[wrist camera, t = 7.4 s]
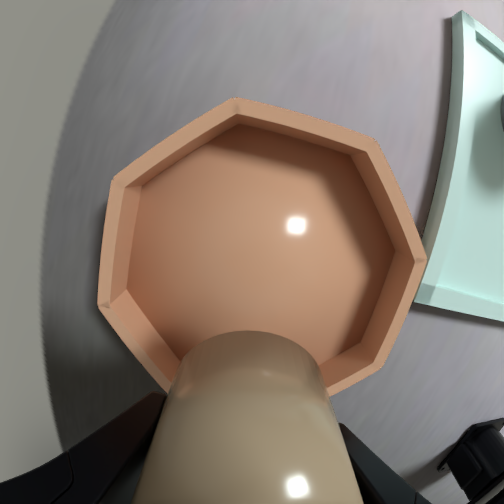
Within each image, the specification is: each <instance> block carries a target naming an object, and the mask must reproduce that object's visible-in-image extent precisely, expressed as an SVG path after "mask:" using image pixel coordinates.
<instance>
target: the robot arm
mask: <svg viewBox="0 0 504 504" xmlns="http://www.w3.org/2000/svg"><path fill="white" fill-rule="evenodd" d="M166 398H167V396H166V395H165V394H162V393H159V392H155V391H152V392H150V393H149V394H148V395H146V396H145V397H144V398H142V399H141V400H139V401H138V402H137V403H135V404H134V405H133V406H131V407H130V408H128V409H127V410H126V411H124V412H123V413H121V414H120V415H118V416H117V417H116V418H114V419H113V420H111V421H110V422H108V423H107V424H106V425H104V426H103V427H101V428H100V429H98V430H97V431H95V432H94V433H92V434H91V435H89V436H88V437H86V438H85V439H83V440H82V441H80V442H79V443H77V444H76V445H74V446H73V447H71V448H70V449H68V451H65V452H63V453H62V454H60V455H59V456H57V457H56V458H54V459H52V460H50V461H49V462H47V463H45V464H44V465H42V466H40V467H38V468H35V469H33V470H31V471H29V472H27V473H24V474H22V475H19V476H17V477H14V478H12V479H9V480H7V481H4V482H1V483H0V504H131V501H132V497H133V494H134V491H135V488H136V485H137V482H138V479H139V476H140V473H141V470H142V467H143V464H144V461H145V458H146V455H147V452H148V449H149V446H150V443H151V440H152V437H153V434H154V432H155V429H156V426H157V423H158V420H159V417H160V415H161V412H162V409H163V406H164V403H165V401H166ZM338 424H339V427H340V430H341V433H342V436H343V439H344V443H345V446H346V449H347V452H348V455H349V458H350V461H351V465H352V468H353V471H354V474H355V477H356V481H357V484H358V487H359V490H360V494H361V497H362V500H363V504H432V503H430V502H429V501H428V500H427V499H425V498H424V497H423V496H422V495H421V494H419V493H418V492H416V490H415V489H413V488H412V487H411V486H410V485H409V484H408V483H407V482H405V481H404V480H403V479H402V478H401V477H400V476H399V475H397V474H396V473H395V472H394V471H393V470H392V469H391V468H390V467H389V466H387V465H386V464H385V463H384V462H383V461H382V460H381V459H380V458H379V457H378V456H377V455H375V454H374V453H373V452H372V451H371V450H370V449H369V448H368V447H367V446H366V445H365V444H364V443H363V442H362V441H361V440H360V439H358V438H357V437H356V436H355V435H354V434H353V433H352V432H351V431H350V430H349V429H348V428H347V427H346V426H345V425H344V424H342V423H338ZM503 426H504V418H501V419H497V420H493V421H489V422H484V423H479V424H475V425H474V426H473V427H472V428H471V429H470V430H469V431H468V433H467V434H466V435H465V436H464V438H463V439H462V440H461V441H460V443H459V444H458V445H457V446H456V448H455V449H454V450H453V451H452V452H451V453H450V455H449V456H448V457H447V458H446V459H445V460H444V461H443V462H442V464H441V465H440V466H439V467H438V468H437V470H438V472H442V471H446V470H451V472H452V474H453V475H454V477H455V479H456V481H457V483H458V484H459V486H460V488H461V489H462V490H464V492H465V494H466V496H467V498H468V499H469V501H470V502H469V503H467V504H504V437H503V436H502V435H501V433H500V432H499V431H500V430H501V428H502V427H503ZM498 492H499V493H498ZM492 497H493V498H492ZM487 501H488V502H487Z"/></svg>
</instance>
